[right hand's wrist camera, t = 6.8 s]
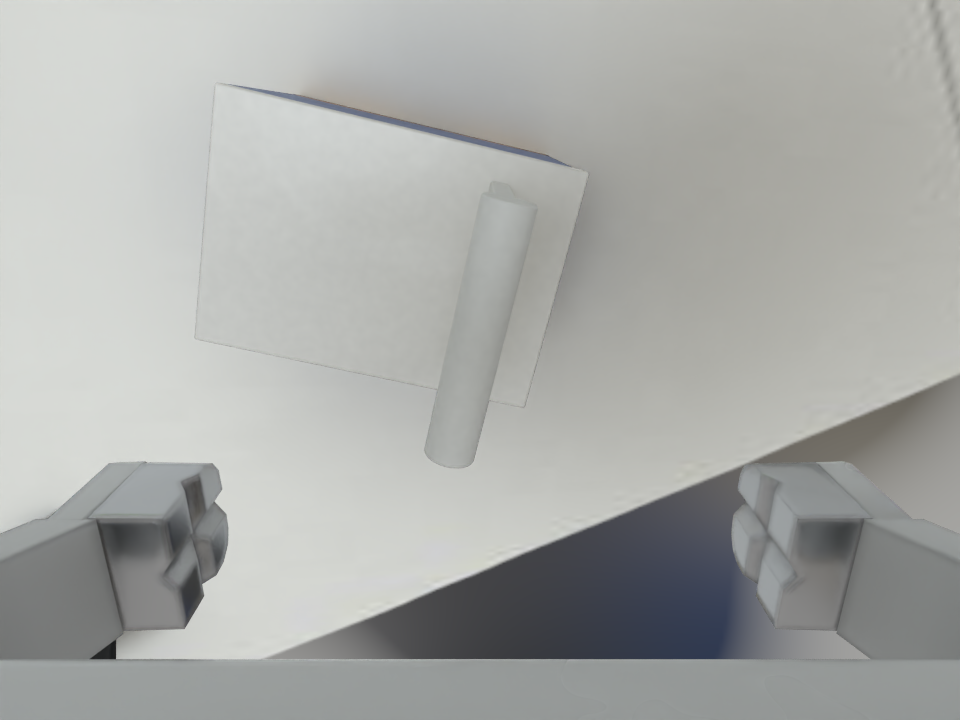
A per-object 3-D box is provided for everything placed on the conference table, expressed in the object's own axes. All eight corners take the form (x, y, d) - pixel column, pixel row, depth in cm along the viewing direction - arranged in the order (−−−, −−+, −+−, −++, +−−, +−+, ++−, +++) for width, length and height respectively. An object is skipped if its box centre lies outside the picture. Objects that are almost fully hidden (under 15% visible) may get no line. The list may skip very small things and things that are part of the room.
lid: (585, 170, 24) (640, 194, 16) (523, 398, 27) (541, 514, 19) (224, 83, 23) (87, 61, 15) (204, 331, 26) (81, 424, 18)
